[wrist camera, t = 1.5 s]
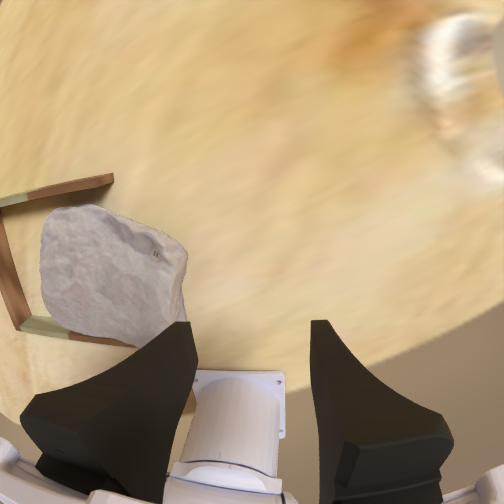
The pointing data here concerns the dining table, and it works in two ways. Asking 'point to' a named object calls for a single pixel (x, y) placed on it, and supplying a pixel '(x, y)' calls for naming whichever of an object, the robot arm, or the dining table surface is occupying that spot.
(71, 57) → the dining table surface
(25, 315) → the guide slot
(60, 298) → the stone block
